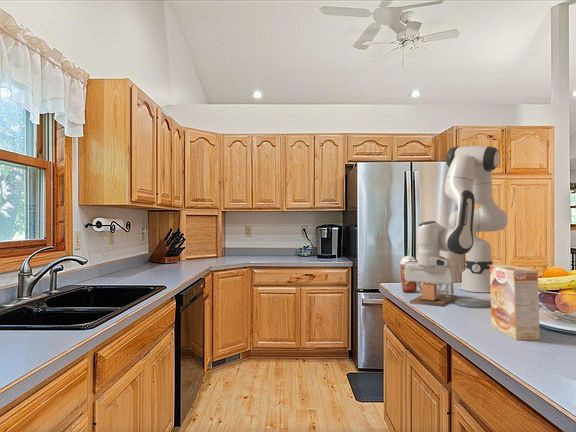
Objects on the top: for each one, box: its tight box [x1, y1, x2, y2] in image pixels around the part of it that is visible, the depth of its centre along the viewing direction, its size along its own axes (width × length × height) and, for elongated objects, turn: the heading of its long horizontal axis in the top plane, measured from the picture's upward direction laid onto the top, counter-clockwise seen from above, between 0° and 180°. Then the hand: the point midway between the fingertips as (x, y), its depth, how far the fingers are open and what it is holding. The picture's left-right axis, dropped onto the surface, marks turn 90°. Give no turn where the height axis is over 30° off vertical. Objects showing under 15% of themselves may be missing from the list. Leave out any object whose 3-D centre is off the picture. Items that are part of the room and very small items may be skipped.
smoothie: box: [399, 249, 418, 294], centre depth 196 cm, size 8×8×20 cm
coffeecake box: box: [490, 264, 541, 341], centre depth 122 cm, size 15×7×20 cm, turn 178°
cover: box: [422, 282, 455, 297], centre depth 179 cm, size 9×11×11 cm
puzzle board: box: [409, 293, 457, 307], centre depth 174 cm, size 22×13×1 cm, turn 144°
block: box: [420, 283, 438, 301], centre depth 171 cm, size 5×5×6 cm
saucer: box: [454, 298, 491, 309], centre depth 164 cm, size 14×14×1 cm
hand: (429, 293), depth 171 cm, fingers closed on block, 5 cm apart
